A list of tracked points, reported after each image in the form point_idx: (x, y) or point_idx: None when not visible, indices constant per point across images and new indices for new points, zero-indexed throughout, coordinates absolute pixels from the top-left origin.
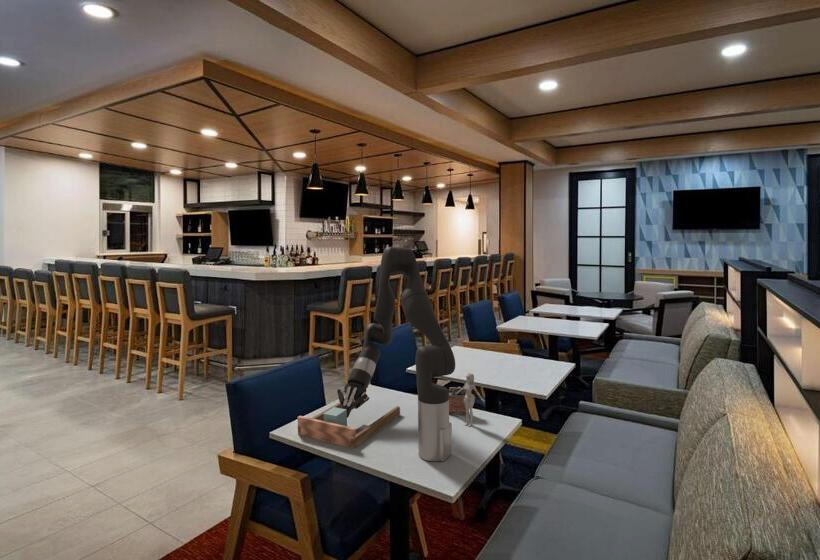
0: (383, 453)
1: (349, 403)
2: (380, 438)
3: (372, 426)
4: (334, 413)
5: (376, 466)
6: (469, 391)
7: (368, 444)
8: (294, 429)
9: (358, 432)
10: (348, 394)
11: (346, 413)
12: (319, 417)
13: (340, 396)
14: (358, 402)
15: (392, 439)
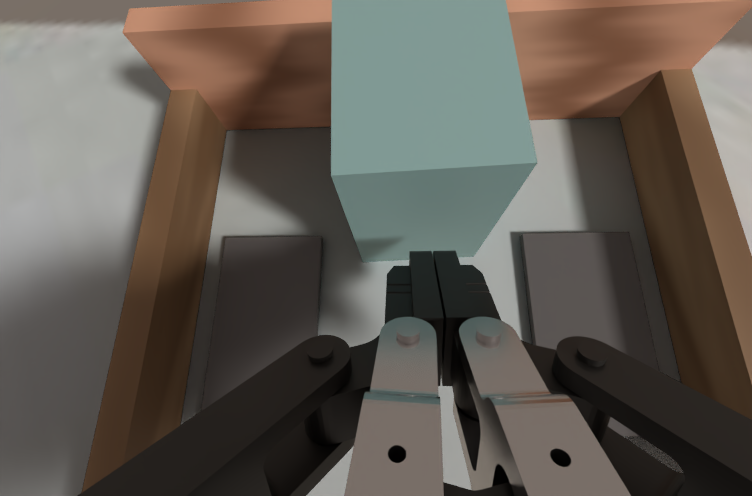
0: (31, 137)
1: (405, 352)
2: (100, 285)
3: (128, 302)
4: (391, 29)
5: (34, 33)
6: None
7: (147, 183)
8: (733, 137)
9: (272, 278)
10: (535, 488)
11: (340, 196)
12: (704, 275)
13: (728, 444)
14: (234, 396)
15: (16, 309)
